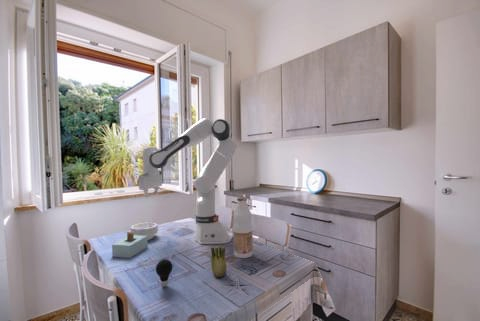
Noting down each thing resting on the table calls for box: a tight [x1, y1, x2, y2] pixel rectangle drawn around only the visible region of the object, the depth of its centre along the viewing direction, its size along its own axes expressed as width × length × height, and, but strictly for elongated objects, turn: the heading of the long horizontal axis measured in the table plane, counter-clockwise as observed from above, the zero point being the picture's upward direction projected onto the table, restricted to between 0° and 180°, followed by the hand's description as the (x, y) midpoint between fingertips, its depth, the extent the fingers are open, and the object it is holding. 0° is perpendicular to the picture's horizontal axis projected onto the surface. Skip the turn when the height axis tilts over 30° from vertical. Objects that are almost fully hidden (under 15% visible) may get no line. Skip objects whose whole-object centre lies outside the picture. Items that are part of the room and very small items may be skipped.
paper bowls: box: [130, 222, 159, 241], centre depth 137 cm, size 15×15×8 cm
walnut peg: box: [126, 230, 134, 242], centre depth 117 cm, size 3×3×10 cm
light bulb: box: [155, 258, 173, 288], centre depth 84 cm, size 6×6×10 cm
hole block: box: [111, 235, 148, 259], centre depth 117 cm, size 10×14×6 cm
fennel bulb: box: [210, 245, 227, 278], centre depth 91 cm, size 6×5×12 cm
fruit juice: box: [232, 196, 254, 259], centre depth 110 cm, size 9×9×28 cm
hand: (151, 195), depth 137 cm, fingers open, 8 cm apart
